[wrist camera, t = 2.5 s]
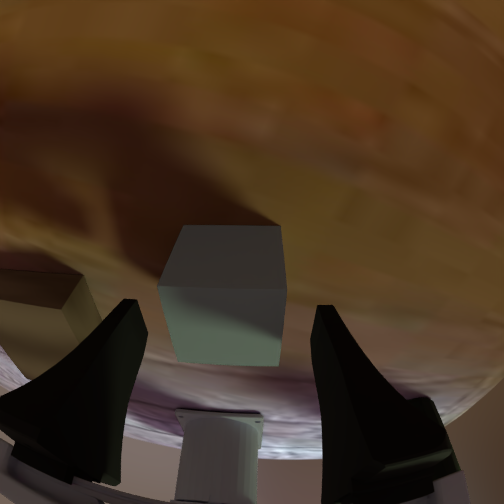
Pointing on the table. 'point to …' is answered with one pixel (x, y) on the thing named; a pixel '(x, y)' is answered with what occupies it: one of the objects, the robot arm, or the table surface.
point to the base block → (43, 317)
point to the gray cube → (226, 294)
